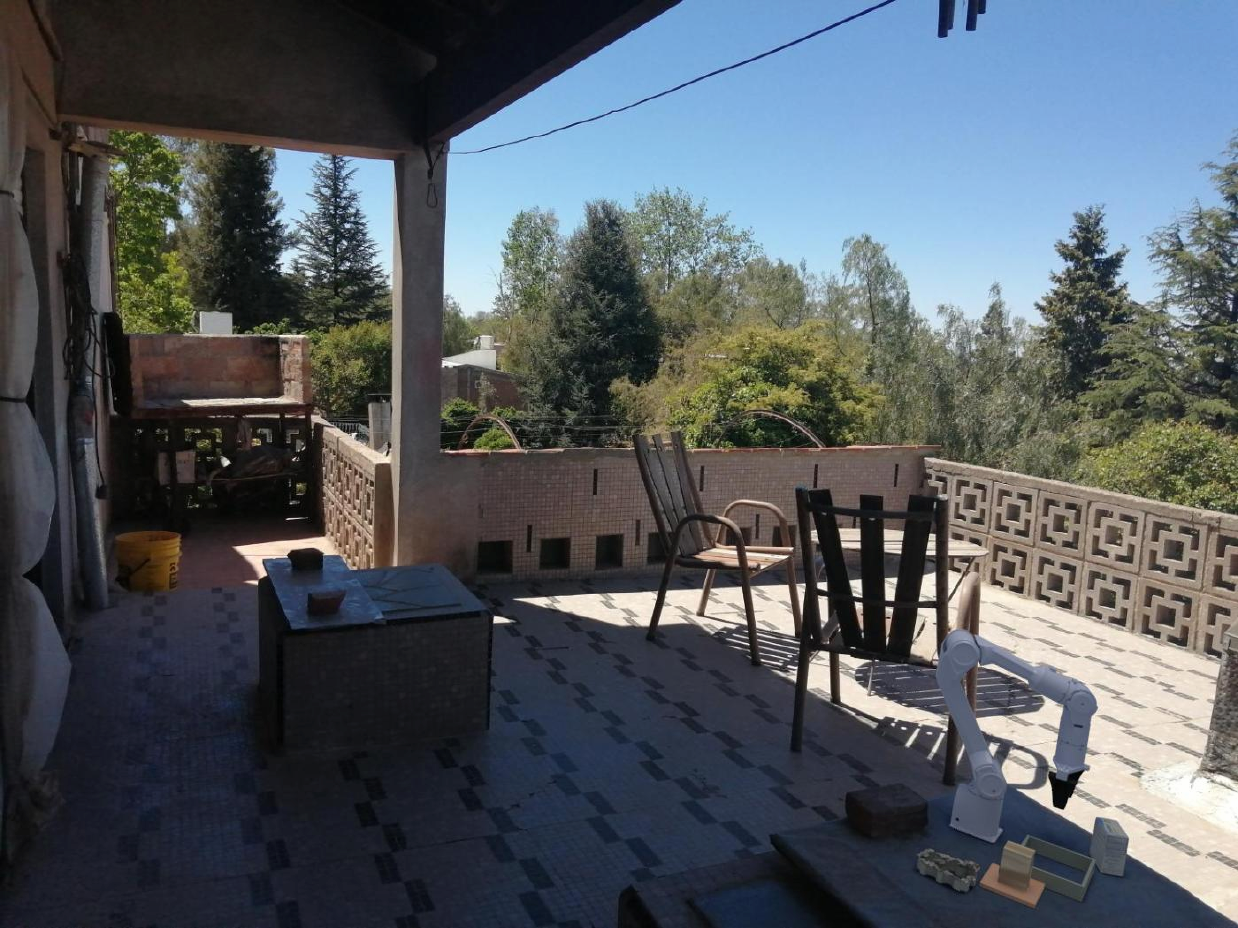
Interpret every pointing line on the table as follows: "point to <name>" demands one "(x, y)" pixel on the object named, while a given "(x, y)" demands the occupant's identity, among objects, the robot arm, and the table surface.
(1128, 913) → the table surface
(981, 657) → the robot arm
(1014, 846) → the block
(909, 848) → the table surface
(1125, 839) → the medicine box
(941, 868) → the egg carton
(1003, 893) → the pad
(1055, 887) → the bin
